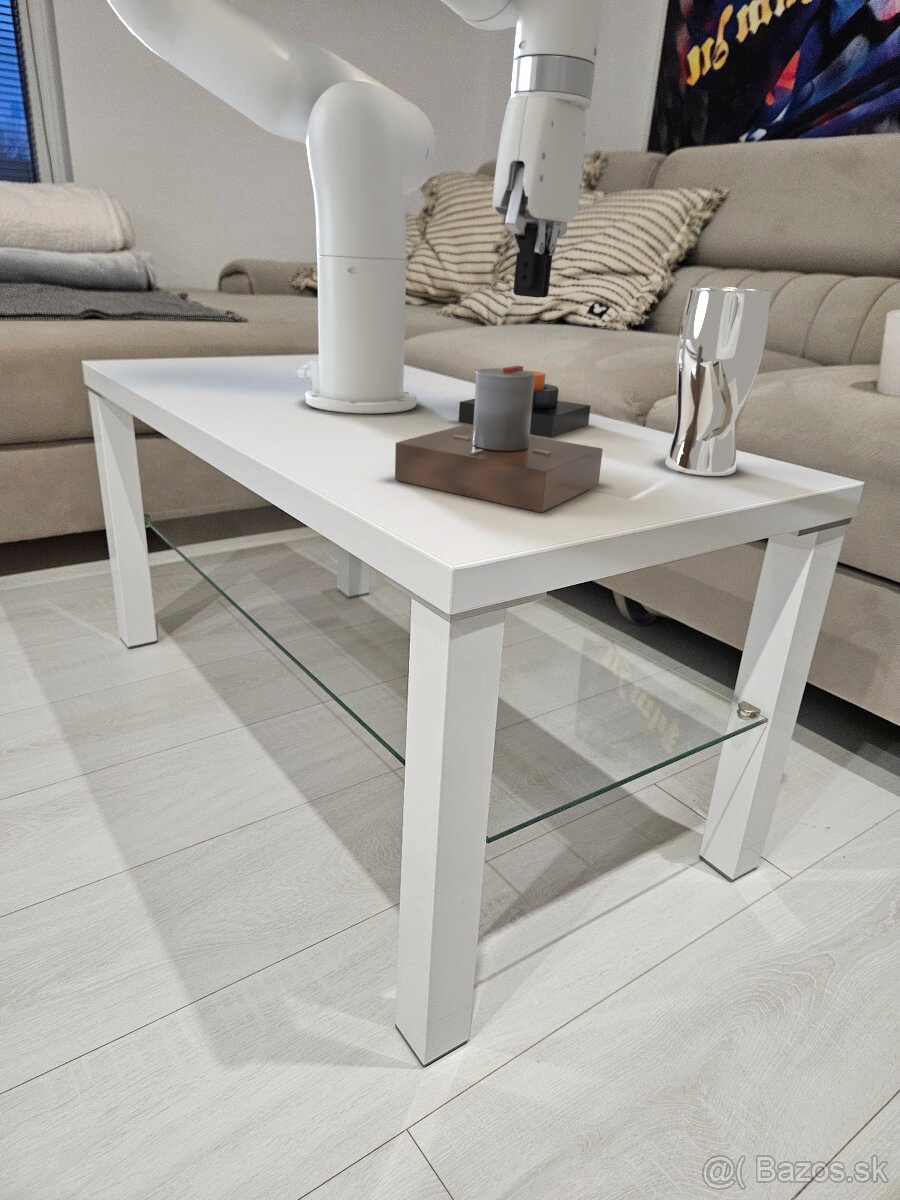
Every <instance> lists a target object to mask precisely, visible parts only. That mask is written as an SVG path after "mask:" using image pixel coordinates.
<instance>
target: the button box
mask: <svg viewBox="0 0 900 1200" xmlns="http://www.w3.org/2000/svg"><path fill="white" fill-rule="evenodd" d="M474 406H475V398H471V399H466V400H461V401H459V406H458V407H459V408H458V423H461V424H462V423H463V424H466V425H473V423H474ZM590 414H591V404H590V405H589V404H582V403H577V402H576V403H575V402H570V401H569V402H568V401H562V400H559V387H558V386H556V385H552V384H548V383H545V385H544V389H540V390H533V401H532V413H531V425H530V436H536V437H537V436H538V437H542V438H548V439H553V438H556V437H558V436H562V435H564V434H567V433H570V432H573V431H576V430H579V429H583V428H584V427H587V426H589V425H590V424H589V422H590Z"/></svg>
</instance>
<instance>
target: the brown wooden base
mask: <svg viewBox="0 0 900 1200" xmlns="http://www.w3.org/2000/svg"><path fill="white" fill-rule="evenodd" d="M472 441H473V425H470V424H462V425H458V426H454V427H450V428H447V429H443V430H439V431H438V430H437V431H434V432H432V433H431V432H430V433H427V434H424V435H419V436H416V437H412V438H408V439H405V440H402V441H401V440H400V441H396V442H395V451H394V452H395V453H394V454H395V456H394V458H395V459H394V480H395V481H397V482H401V483H402V482H403V483H406V484H411V485H415V486H420V487H424V488H428V489H432V490H433V489H434V490H438V491H442V492H447V493H450V494H451V493H452V494H455V495H461V496H465V497H468V498H474V499H478V500H484V501H488V502H492V503H496V504H500V505H505V506H510V507H514V508H519V509H524V510H528V511H532V512H538V513H541V514H542V513H544V512H546V511H549V510H550V509H552V508H554V507H556V506H558V505H560V504H562V503H565V502H566V501H569V500H570V499H573V498H575V497H577V496H579V495H581V494H584V493H585V492H587V491H589V490H590V489H593V488H595V487H596V486H599V483H600V476H601V466H602V458H603V450H604V449H603V448H601V447H595V446H590V445H585V444H580V443H579V444H578V443H574V442H573V443H572V442H568V441H567V442H566V441H561V440H557V439H556V440H555V439H551V438H546V437H540V436H538V437H537V436H534V435H530V437H529V447H528V448H526V449H523V450H518V451H496V450H488V449H483V448H480V447H477V446H475V445H473V443H472Z"/></svg>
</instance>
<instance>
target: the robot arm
mask: <svg viewBox="0 0 900 1200" xmlns="http://www.w3.org/2000/svg"><path fill="white" fill-rule="evenodd" d="M440 1H441V2H442V3H443V4H445V6H447V7H448V8H450V9H451V10H452V11H453V12H454V13H455V14H456V15H458V16H459V17H460V19H462V20H463V21H464V22H466V23H467V24H468V25H470V26H472V27H473V28H476V29H478V30H481V31H500V30H506V29H511V28H516V29H515V40H514V51H513V65H512V76H511V86H510V87H511V88H510V89H511V90H510V97H509V98H508V102H507V105H506V109H505V113H504V117H503V122H502V127H501V132H500V138H499V145H498V150H497V157H496V165H495V172H494V173H495V174H494V181H493V191H492V209H493V211H494V212H495V214H497V215H498V216H499V217H505V222H504V226H505V228H506V229H507V230H508V231H510V232H511V233H512V234H513V235H514V251H515V252H516V259H515V271H514V279H513V280H514V281H513V282H514V283H513V291H512V292H513V294H514V296H518V297H519V296H520V297H529V298H537V299H539V298H547V297H548V296H549V292H550V290H549V289H550V282H551V274H552V273H551V272H552V263H553V256H554V254H555V252H556V249H557V243H558V238H560V237H563V236H565V235H566V234H567V232H568V222H570V221H572V220H574V219H575V218H576V216H577V215H578V211H579V208H580V207H579V206H580V201H581V195H582V187H583V178H584V177H583V175H584V165H585V164H584V163H585V151H586V150H585V147H586V123H587V121H586V120H587V119H586V117H587V116H586V115H587V114H586V113H587V112H586V110H589V109H590V108H591V103H592V93H593V85H594V77H595V76H594V75H595V69H596V59H597V52H598V44H599V43H598V42H599V34H600V27H601V18H602V17H601V16H602V9H603V3H604V2H603V1H604V0H440ZM107 2H108V4H109V5H110V6H111V8H112V9H113V11H114V12H115V13H116V15H117V16H118V18H119V19H120V20H121V21H122V23H123V24H124V25H125V26H126V27H127V29H128V30H129V31H130V32H131V33H132V34H133V35H134V36H135V37H136V38H137V39H138V40H139V41H140V42H142V44H144V46H146V47H147V48H148V49H149V50H151V51H152V52H153V53H155V54H156V55H157V56H158V57H160V58H162V59H163V61H165V62H166V63H168V64H169V65H171V66H172V67H174V68H175V69H177V70H178V71H180V72H181V73H182V74H184V75H185V76H187V77H188V78H190V79H191V80H193V81H194V82H196V83H197V84H198V85H200V86H201V87H203V88H204V89H205V90H207V91H208V92H209V93H211V94H212V95H214V96H216V97H217V98H219V99H220V100H221V101H223V102H225V104H227V105H229V106H230V107H232V108H233V109H234V110H236V111H238V112H239V113H241V114H242V115H244V116H245V117H246V118H248V119H249V120H250V121H252V122H253V123H254V124H255V125H257V126H258V127H259V128H261V129H263V130H264V131H265V132H268V133H270V134H272V135H275V136H278V137H281V138H284V139H287V140H291V141H295V142H297V143H298V142H299V143H301V144H304V145H306V150H307V157H308V158H307V159H308V166H309V171H310V178H311V184H312V191H313V198H314V209H315V210H314V211H315V225H316V226H315V228H316V231H315V233H316V260H317V263H316V265H317V266H316V267H317V270H316V271H317V321H318V323H317V325H318V326H317V327H318V359H314V360H306V361H304V362H303V365H299V366H298V367H297V369H296V376H297V377H298V378H299V379H305V380H311V384H312V385H311V389H309V390H308V391H306V392H305V403H306V405H308V406H310V407H312V408H315V409H319V410H323V411H329V412H335V413H346V414H365V415H367V414H370V415H371V414H375V415H376V414H393V413H402V412H405V411H410V410H413V409H414V408H416V406H417V403H418V402H417V395H415V394H414V393H413V392H410V391H407V390H404V381H405V379H404V378H405V377H404V376H405V339H406V338H405V337H406V335H405V334H406V329H405V328H406V292H407V291H406V290H407V220H406V209H405V203H404V202H405V201H404V195H407V194H410V193H412V192H414V191H415V192H416V191H417V190H418V189H420V188H421V187H422V186H423V185H424V184H425V183H426V182H427V181H428V180H429V178H431V176H432V174H433V171H434V170H435V166H436V163H437V157H438V144H437V143H438V142H437V136H436V133H435V130H434V127H433V124H432V123H431V121H430V119H429V118H428V116H427V115H426V114H425V113H424V112H423V110H422V109H421V108H419V107H418V106H417V105H416V104H415V103H413V102H411V101H409V100H408V99H407V98H406V97H404V96H402V95H400V94H399V93H397V92H396V91H394V90H392V89H390V88H389V87H387V85H384V84H383V83H381V82H380V81H378V80H377V79H375V78H374V77H372V76H370V75H368V74H367V73H366V72H364V71H362V70H361V69H359V68H358V67H356V66H355V65H353V64H352V63H350V62H349V61H347V60H345V59H343V58H342V57H341V56H339V55H337V54H335V53H334V52H332V51H330V50H329V49H326V48H324V47H323V46H320V45H318V44H316V43H314V42H312V41H311V40H308V39H306V38H304V37H301V36H300V35H297V34H295V33H292V32H289V31H286V30H284V29H281V28H279V27H277V26H275V25H273V24H271V23H270V22H268V21H265V20H264V19H262V18H261V17H258V16H257V15H256V14H253V13H252V12H251V11H249V10H248V9H246V8H245V7H243V6H241V5H239V3H238V2H237V3H236V2H235V0H107Z"/></svg>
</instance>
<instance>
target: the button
mask: <svg viewBox="0 0 900 1200" xmlns="http://www.w3.org/2000/svg"><path fill="white" fill-rule="evenodd" d="M527 371H528V372H532V373H534V374H535V377H534V389H533V390H540V389H544V385H545V384H546V373H545V372H542V371H536V370H527Z"/></svg>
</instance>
